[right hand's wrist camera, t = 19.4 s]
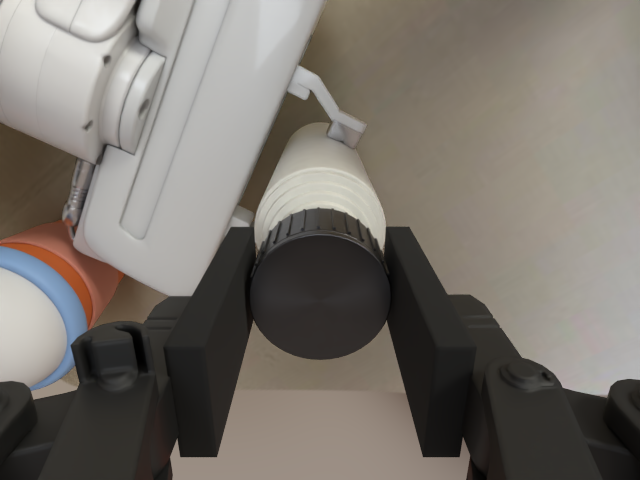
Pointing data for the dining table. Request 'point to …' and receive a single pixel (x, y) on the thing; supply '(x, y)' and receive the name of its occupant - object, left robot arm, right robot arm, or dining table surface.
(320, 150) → the bottle
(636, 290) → the dining table surface
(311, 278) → the cap
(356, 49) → the dining table surface
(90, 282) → the cup with straw
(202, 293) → the right robot arm
